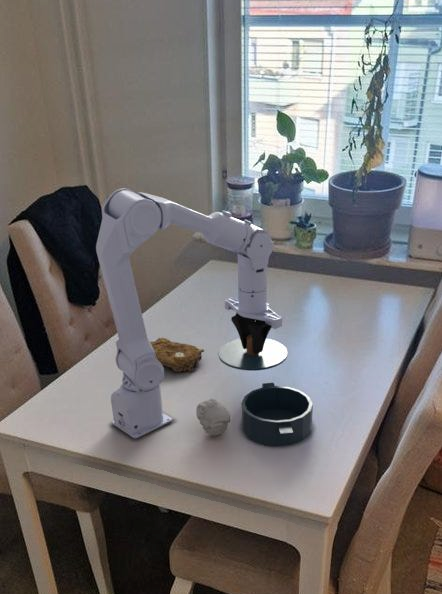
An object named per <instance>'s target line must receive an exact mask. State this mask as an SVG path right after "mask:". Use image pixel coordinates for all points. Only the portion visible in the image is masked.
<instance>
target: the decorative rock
mask: <svg viewBox="0 0 442 594" xmlns="http://www.w3.org/2000/svg"><path fill="white" fill-rule="evenodd" d="M149 342H150V343H151V345H152V347H153V349H154V351H155V354H156V358H157V360H158V361H159V362H160V363H161V364H162V366H165V367H168V368H170V370H173V371H174V372H175V373H178V372H180V373H182V371H183V372H185V371H189V372H193V371H195V368H198V366H199V364H198V363H199V362H200V361H201V360H202V357H203V355H202V353H204V352H205V349H203V348H202V349H201V348H198V347H197V346H195V345H192V344H187V343H180V342H176V341H170V339H168V338H165V337H158V338H157V339H156V340H155V341H149Z"/></svg>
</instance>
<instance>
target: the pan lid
mask: <svg viewBox="0 0 442 594" xmlns="http://www.w3.org/2000/svg"><path fill="white" fill-rule="evenodd" d="M217 355H218V358H219V360H220V362H221V363H222V364H224V365H225V366H227V367H229V368H232V369H236V370H239V371H251V372H253V371H264V370H269V369H273V368H276V367H278V366H280V365H281V364H283V363H284V362H285V361H286V360H287V358H288V356H289V355H288V349H287V347H286V346H285V345H284V344H282V343H281V342H279V341H277V340H274V339H271V338H266V340H265V344H264V347H263V351H262V352H260V353H258V354H254V353H253V347H252V337H251V335H248V336H247V349H243V346H242V343H241V340H240V338H236V339H232V340H230V341H228V342H227V343H224V344H223V345H222V346H221V347H220V348H219V349H218V354H217Z"/></svg>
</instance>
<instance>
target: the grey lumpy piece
mask: <svg viewBox="0 0 442 594" xmlns="http://www.w3.org/2000/svg"><path fill="white" fill-rule="evenodd" d="M195 411H196V413H195V414H196V418H197V420H198V421H199V425H200V426H201V427H202V429H203V431H204V432H205V433H206V434H208V435H209V436H214V437H218V436H221V435H223V434H224V433H225V432H226V431H227V429H228V427H229V423H231V420H232V416H231V414H230V412H229V411H228V410H227V408H226V406H224V405H223V404H222V403H220V402H219V401H217V400H216V399H215V398H213V397H211V398H208V399H207V400H203V401H201V402H199V403H197V405H196V410H195Z"/></svg>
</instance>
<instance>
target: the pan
mask: <svg viewBox="0 0 442 594" xmlns="http://www.w3.org/2000/svg"><path fill="white" fill-rule="evenodd" d="M240 405H241V407H240V409H241V410H240V411H241V412H240V413H241V414H240V415H241V428H242V432H243V434H244V436H245V437H246V438H247V439H249V440H250V441H251V442H253V443H256V444H258V445H261V446H266V447H272V448H273V447H276V448H278V447H281V448H282V447H288V446H289V447H290V446H293V445H296V444H299V443H301V442H303V441H305V440H306V439H307V438H308V437H309V435H310V434H311V432H312V431H311V430H312V426H313V409H314V408H313V407H314V403H313V402H312V399H311V396H309V395H308V394H306V393H305V392H303V391H302V390H300V389H297V388H294V387H292V386H291V387H290V386H281V385H275V382H264V383H263V382H262V384H261V387H259V388H256V389H253V390H251V391H250V392H249V393H247V394H246V395H245V396H244V397H243V399H242V400H241V403H240Z"/></svg>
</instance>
